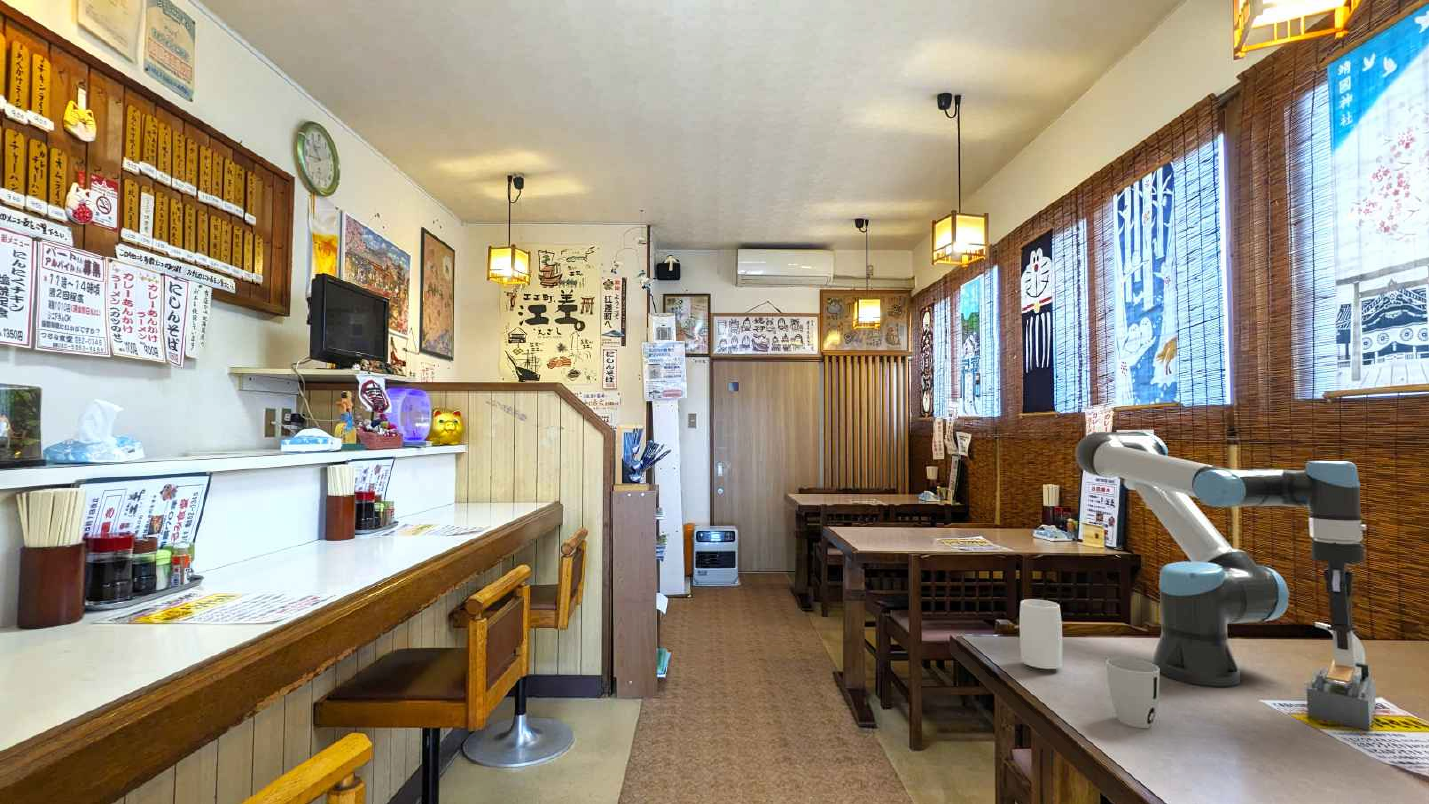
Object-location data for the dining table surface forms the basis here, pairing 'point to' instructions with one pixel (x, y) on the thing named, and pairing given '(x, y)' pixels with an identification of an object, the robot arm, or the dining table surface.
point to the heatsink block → (1342, 699)
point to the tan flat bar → (1340, 673)
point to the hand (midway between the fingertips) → (1344, 664)
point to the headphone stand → (1358, 649)
